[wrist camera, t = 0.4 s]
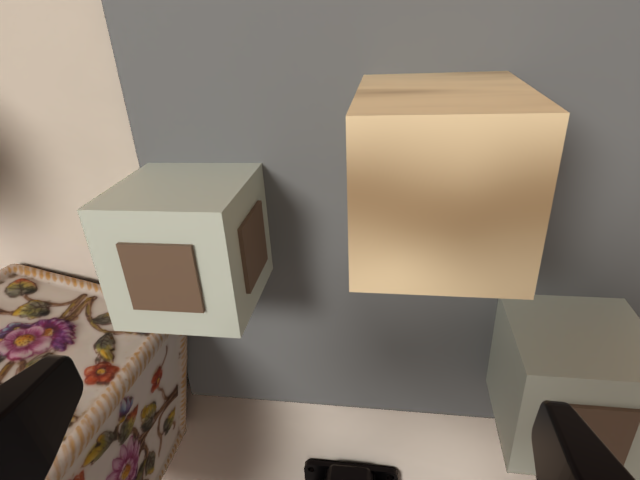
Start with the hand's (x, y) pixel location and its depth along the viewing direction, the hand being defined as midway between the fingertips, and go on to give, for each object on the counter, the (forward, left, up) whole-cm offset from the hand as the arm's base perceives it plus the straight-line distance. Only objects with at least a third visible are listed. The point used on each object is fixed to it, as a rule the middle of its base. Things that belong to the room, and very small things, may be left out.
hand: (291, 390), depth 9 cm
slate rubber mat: (-4, -2, -16) cm, 16 cm away
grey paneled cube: (-10, -10, -15) cm, 21 cm away
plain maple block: (+1, -3, -15) cm, 15 cm away
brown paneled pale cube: (-3, +8, -15) cm, 17 cm away
